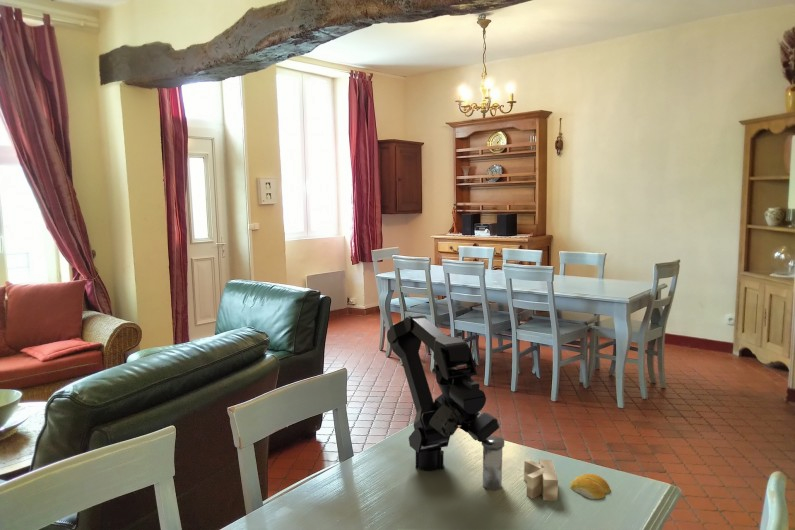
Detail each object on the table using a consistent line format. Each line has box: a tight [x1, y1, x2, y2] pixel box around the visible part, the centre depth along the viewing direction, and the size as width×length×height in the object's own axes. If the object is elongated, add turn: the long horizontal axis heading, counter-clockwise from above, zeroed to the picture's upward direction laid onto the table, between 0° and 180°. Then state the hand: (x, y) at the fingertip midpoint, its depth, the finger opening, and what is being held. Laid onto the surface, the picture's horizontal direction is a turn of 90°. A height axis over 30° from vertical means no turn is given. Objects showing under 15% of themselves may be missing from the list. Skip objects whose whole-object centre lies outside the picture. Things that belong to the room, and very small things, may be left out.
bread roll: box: [569, 473, 611, 500], centre depth 132 cm, size 8×9×4 cm
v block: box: [523, 458, 559, 502], centre depth 131 cm, size 6×10×5 cm, turn 172°
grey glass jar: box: [481, 435, 505, 491], centre depth 132 cm, size 5×5×11 cm
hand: (476, 438), depth 138 cm, fingers closed
